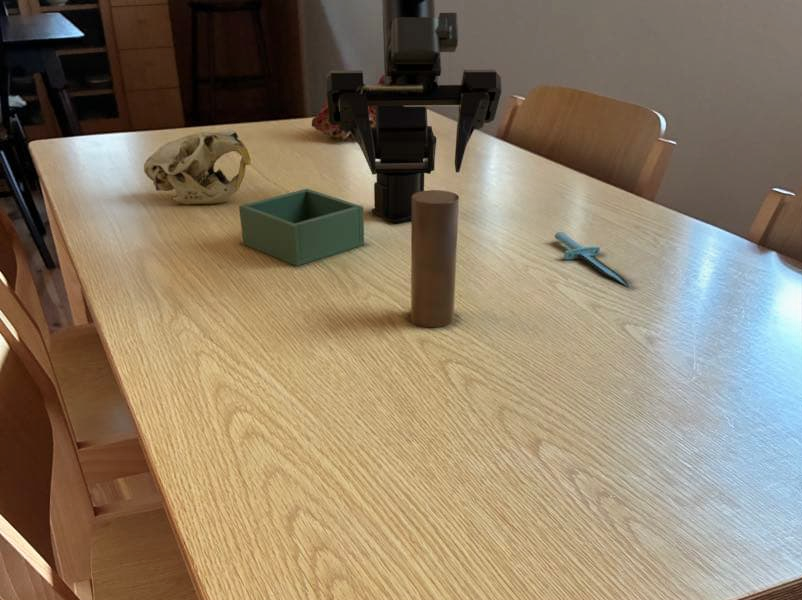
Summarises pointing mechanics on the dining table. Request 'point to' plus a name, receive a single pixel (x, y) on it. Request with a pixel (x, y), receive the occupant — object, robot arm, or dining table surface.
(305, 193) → the basket
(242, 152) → the skull
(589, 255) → the knife
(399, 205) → the robot arm
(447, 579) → the dining table surface
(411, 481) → the dining table surface
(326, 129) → the coral
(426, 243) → the brown cylinder
